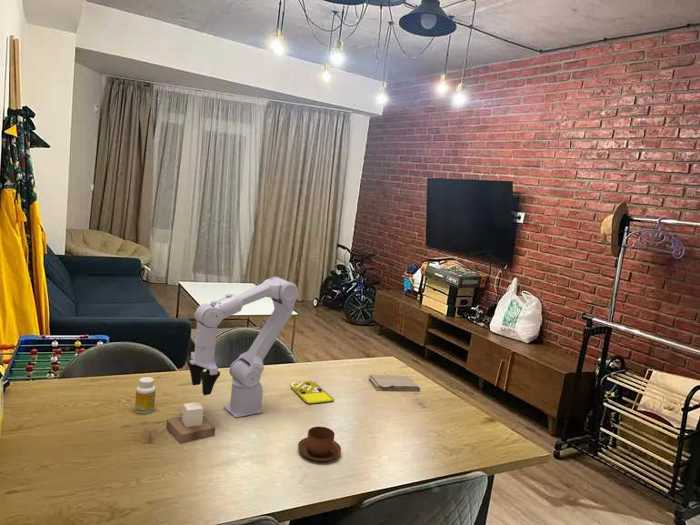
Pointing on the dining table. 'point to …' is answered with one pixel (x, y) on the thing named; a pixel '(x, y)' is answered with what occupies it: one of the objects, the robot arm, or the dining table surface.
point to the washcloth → (393, 383)
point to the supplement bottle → (145, 396)
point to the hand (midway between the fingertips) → (201, 389)
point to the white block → (192, 414)
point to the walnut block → (190, 430)
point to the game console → (311, 393)
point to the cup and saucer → (319, 444)
